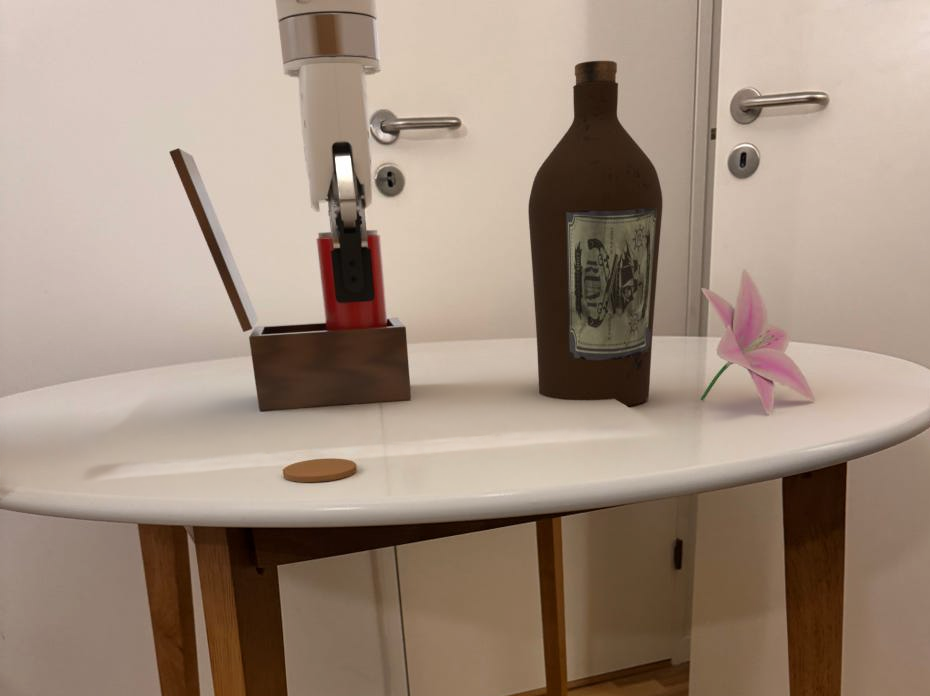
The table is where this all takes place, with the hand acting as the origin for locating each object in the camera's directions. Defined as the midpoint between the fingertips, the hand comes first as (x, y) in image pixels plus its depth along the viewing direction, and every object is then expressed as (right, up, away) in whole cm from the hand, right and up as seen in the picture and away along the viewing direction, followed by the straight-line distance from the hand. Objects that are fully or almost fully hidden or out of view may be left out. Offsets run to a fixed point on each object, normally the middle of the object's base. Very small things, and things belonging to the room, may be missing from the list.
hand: (354, 296), depth 80 cm
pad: (0, -18, -18) cm, 26 cm away
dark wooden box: (-2, -9, +3) cm, 9 cm away
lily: (+32, -10, -4) cm, 34 cm away
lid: (-10, +3, -3) cm, 11 cm away
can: (0, -7, +3) cm, 8 cm away
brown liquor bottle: (+21, -9, +1) cm, 22 cm away
